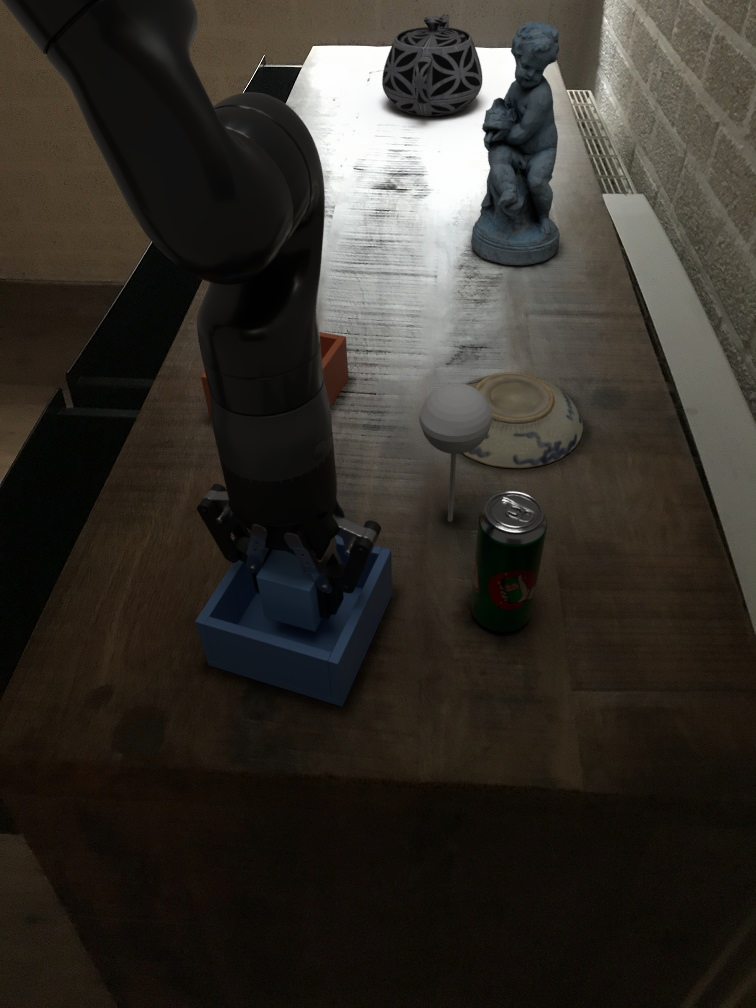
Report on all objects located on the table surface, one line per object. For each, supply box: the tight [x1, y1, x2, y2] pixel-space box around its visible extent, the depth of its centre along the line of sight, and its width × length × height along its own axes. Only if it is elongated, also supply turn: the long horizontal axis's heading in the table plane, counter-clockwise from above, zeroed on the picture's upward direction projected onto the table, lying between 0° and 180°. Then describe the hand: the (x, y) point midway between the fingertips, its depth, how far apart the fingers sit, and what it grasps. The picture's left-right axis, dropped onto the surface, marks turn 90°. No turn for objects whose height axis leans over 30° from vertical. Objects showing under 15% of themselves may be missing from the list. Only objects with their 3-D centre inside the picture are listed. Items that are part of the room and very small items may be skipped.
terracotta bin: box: [200, 331, 349, 422], centre depth 86 cm, size 12×12×6 cm
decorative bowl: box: [462, 371, 584, 470], centre depth 83 cm, size 15×4×15 cm
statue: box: [470, 21, 561, 266], centre depth 104 cm, size 12×23×27 cm, turn 0°
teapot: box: [381, 13, 483, 117], centre depth 150 cm, size 19×31×15 cm, turn 168°
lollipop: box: [418, 382, 492, 523], centre depth 69 cm, size 6×6×15 cm
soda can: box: [470, 490, 548, 633], centre depth 63 cm, size 5×5×12 cm
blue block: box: [256, 550, 322, 632], centre depth 62 cm, size 4×4×5 cm
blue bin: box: [194, 535, 393, 708], centre depth 64 cm, size 12×12×6 cm
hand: (300, 601), depth 64 cm, fingers closed on blue block, 4 cm apart
